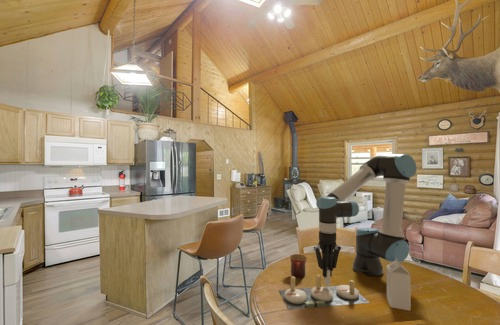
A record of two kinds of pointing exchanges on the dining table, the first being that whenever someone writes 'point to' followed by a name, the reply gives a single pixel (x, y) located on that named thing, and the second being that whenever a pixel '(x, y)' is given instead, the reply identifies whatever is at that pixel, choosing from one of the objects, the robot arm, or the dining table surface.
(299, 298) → the knob
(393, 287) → the milk carton
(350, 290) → the knob
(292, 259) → the mug
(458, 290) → the dining table surface
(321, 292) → the knob middle
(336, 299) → the base plate
